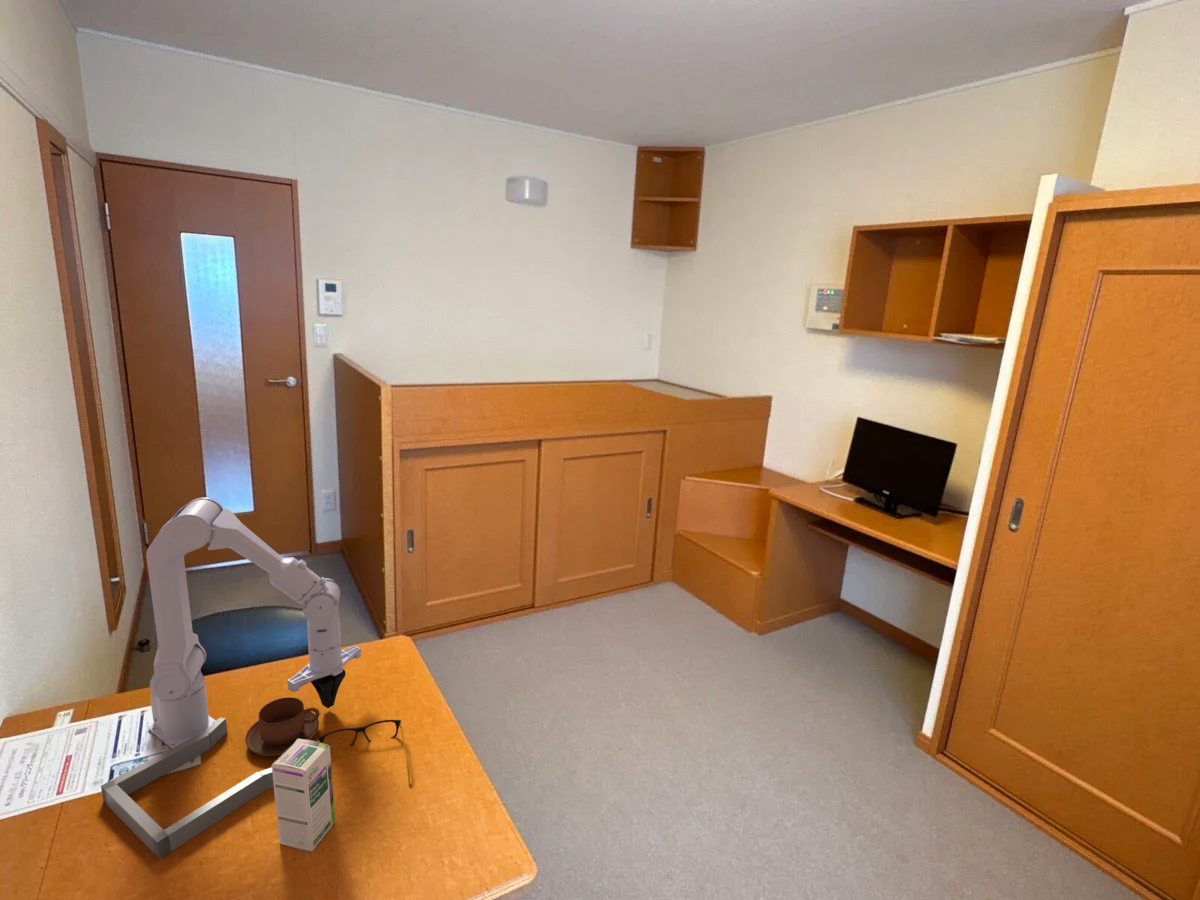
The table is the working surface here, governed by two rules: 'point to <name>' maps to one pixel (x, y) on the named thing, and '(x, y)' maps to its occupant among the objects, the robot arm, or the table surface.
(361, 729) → the eyeglasses
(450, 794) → the table surface
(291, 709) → the cup and saucer
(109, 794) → the bent grey bar frame
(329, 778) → the syrup box
